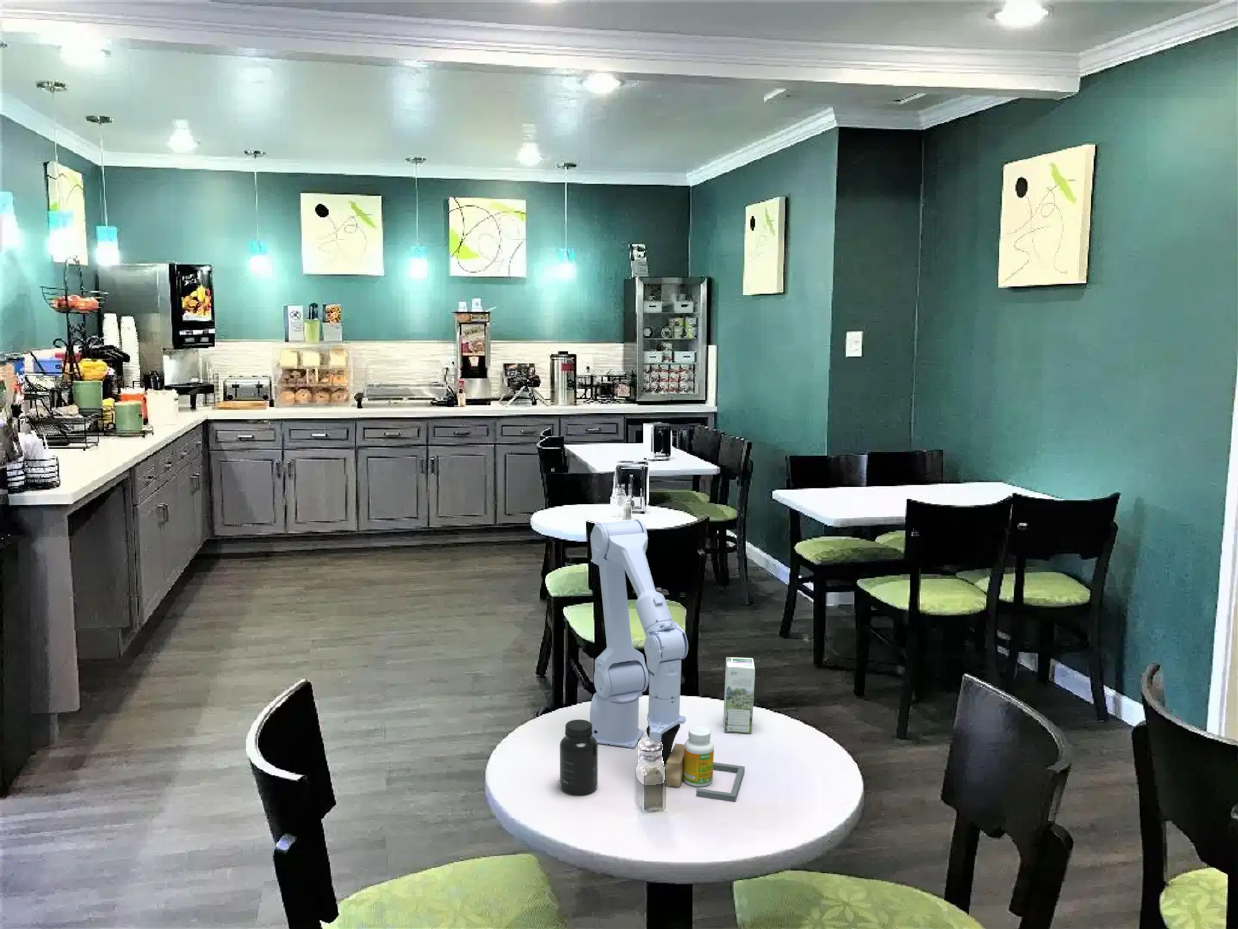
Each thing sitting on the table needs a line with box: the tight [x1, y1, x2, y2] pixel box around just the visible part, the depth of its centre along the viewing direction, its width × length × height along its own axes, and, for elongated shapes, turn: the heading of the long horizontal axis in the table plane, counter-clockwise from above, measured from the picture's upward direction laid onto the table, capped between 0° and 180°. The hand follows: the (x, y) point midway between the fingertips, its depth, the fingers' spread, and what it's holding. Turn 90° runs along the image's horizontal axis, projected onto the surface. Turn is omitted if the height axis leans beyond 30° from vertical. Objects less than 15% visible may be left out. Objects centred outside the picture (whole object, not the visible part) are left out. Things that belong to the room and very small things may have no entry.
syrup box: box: [722, 656, 756, 734], centre depth 207 cm, size 6×6×14 cm
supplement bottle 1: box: [559, 719, 599, 796], centre depth 180 cm, size 7×7×12 cm
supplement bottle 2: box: [683, 725, 715, 788], centre depth 184 cm, size 5×5×10 cm
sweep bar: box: [665, 743, 685, 788], centre depth 185 cm, size 2×8×4 cm, turn 165°
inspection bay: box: [695, 761, 746, 803], centre depth 184 cm, size 7×12×1 cm, turn 165°
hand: (662, 763), depth 186 cm, fingers closed, pressing on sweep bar
